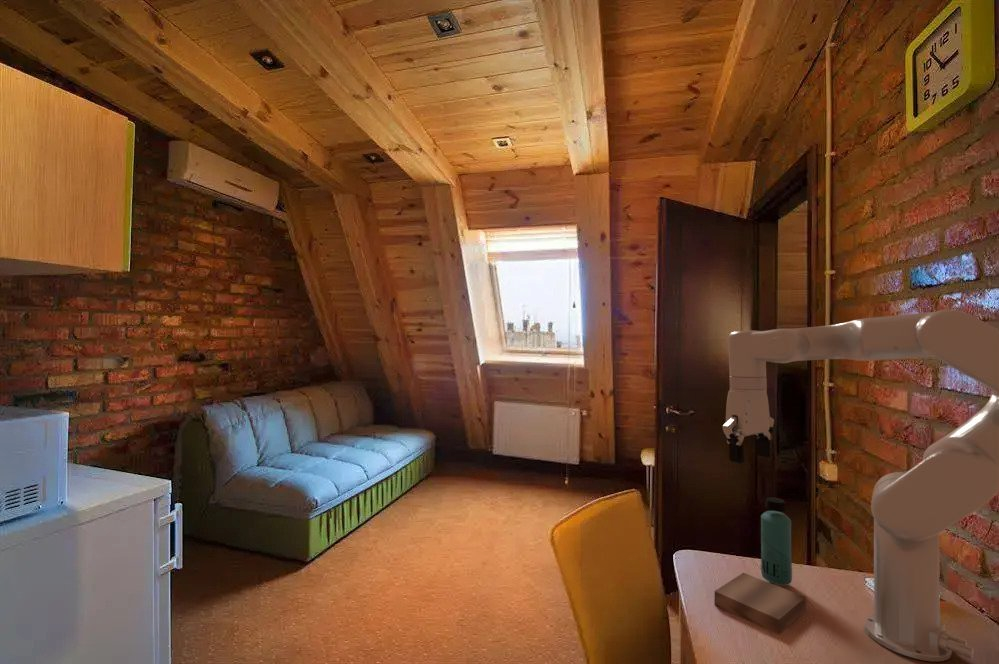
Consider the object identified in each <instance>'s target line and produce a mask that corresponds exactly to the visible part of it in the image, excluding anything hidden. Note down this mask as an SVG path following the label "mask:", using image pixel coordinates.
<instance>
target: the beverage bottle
mask: <svg viewBox="0 0 999 664" xmlns="http://www.w3.org/2000/svg"><path fill="white" fill-rule="evenodd" d="M765 508H766V509H768V510H767V511H764V512H763V513H762V514H761V515H760V535H759V536H760V542H759V543H760V544H761V545H760V546H761V547H760V570H761V571H760V573H761V576H762V578H763V580H765V581H766V582H769V583H771V584H774V585H779V586H780V585H782V586H783V585H784V586H786V585H787V586H788V585H790V584H791V583H792V580H793V564H792V563H793V560H792V559H793V556H792V520H791V518H790V517H789V516H788V515H787V514H785V513H784V512H786V511H787V506H786V501H785V500H784V499H782V498H779V497H766V499H765Z"/></svg>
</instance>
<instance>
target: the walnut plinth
mask: <svg viewBox="0 0 999 664" xmlns="http://www.w3.org/2000/svg"><path fill="white" fill-rule="evenodd" d="M714 606H716V607H718V608H720V609H722V610H724V611H726V612H729V613H731V614H734V615H735V616H737V617H740V618H742V619H744V620H746V621H748V622H750V623H752V624H754V625H757V626H759V627H761V628H763V629H765V630H767V631H770V632H771V633H773V634H776V635H778V636H781V634H782V633H784V631H785V630H787V629H788V628H789V627H790V626H791V625H792V624H793V623H794V622H795V621H797V620H798V619H799V618H800V617H801V616H802V615H803V614H805V613H806V611H807V597H806V596H804V595H801V594H799V593H797V592H794V591H791V590H790V589H786V588H784V587H782V586H780V585H777V584H775V583H772V582H769V581H767V580H765V579H761V578H758V577H756V576H753V575H751V574H747V573H745V572H742V573H740V574H739V575H737V576H736V577H734V578H732V579H731V580H730V581H728V582H727V583H725V584H723V585H722V586H720V587H719V588H717V589H716V590H714Z"/></svg>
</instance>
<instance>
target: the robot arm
mask: <svg viewBox="0 0 999 664" xmlns="http://www.w3.org/2000/svg"><path fill="white" fill-rule="evenodd" d="M727 345H728V368H729V372H728V373H729V390H728V392H727V398H726V404H725V407H726V408H725V423H724V424H723V425H722V428H721V429H722V431H723V433H724V437H725V439H726V442H727V444H728V454H729V455H728V457H729V461H730V462H734V463H737V464H745V454H744V453H745V452H744V451H745V450H744V445H743V444H742V443H743V442H744V438H745V437H748V436H755V435H756V437H755V454H756V456H758V457H764V458H771V456H772V455H771V440H772V434H773V431H774V429H773V427H774V424H775V419H774V418H772V417H771V416H770V405H769V397H768V393H767V392H768V391H767V390H768V387H767V386H768V385H767V384H768V383H767V382H768V381H767V362H770V363H778V364H789V363H792V362H799V361H800V362H801V361H815V360H817V361H818V360H821V361H822V360H852V361H856V362H857V361H858V362H859V361H860V362H864V361H869V362H871V361H890V360H908V359H929V358H930V359H931V358H936V359H938V360H940V361H941V362H943V363H945V364H946V365H948V366H949V367H951V368H953V369H955V370H957V371H958V372H959V373H962V374H963V375H965V376H966V377H969V378H970V379H972V380H974V381H975V382H978V383H979V384H981V385H982V386H984V387H986V388H988V389H989V390H991V391H990V396H989V399H988V401H987V402H986V404H985V405H984V406H983V407H982V408H981V409H980V410H979V411H977V412H976V413H975V414H973V415H972V416H971V417H969V418H968V420H966V421H965V422H964V423H962V424H960V426H958V427H956V428H955V429H953V430H952V431H951V432H949V433H948V434H947V435H945V436H943V437H942V438H940V439H938V440H937V441H935V442H934V443H932V444H931V445H929V446H928V447H927V448H926V449H925V451H924V452H923V455H922V460H921V461H920V462H918V463H917V464H916V465H914V466H913V467H912V468H910V469H909V470H907V471H906V472H904V471H903V472H902V471H897V472H891V473H887V474H885V475H883V476H882V477H880V478H879V479H878V481H877V482H876V483H875V485H874V486H873V491H872V496H871V501H870V511H871V515H872V517H873V583H874V584H873V587H874V588H873V593H874V594H873V596H874V597H873V601H874V603H873V605H874V613H873V614H874V615H870V616H867V617H866V618H865V620H864V630H865V631H866V633H867V634H868V636H870V638H871V639H873V640H874V641H875V642H877V643H878V644H880V645H881V646H883V647H885V648H887V649H889V650H890V651H893V652H895V653H896V654H897V653H898V654H899V655H902V656H905V657H909V658H912V659H916V660H921V661H926V662H935V663H937V662H944V661H947V660H949V659H950V658H951V657H952V654H953V653H952V652H954V653H957V654H958V655H960V656H963V657H965V658H967V659H969V660H973V659H974V647H972V646H970V645H967V644H968V643H967V639H964V638H961V637H958V636H955V635H952V634H950V633H949V632H948V631H946V623H944V622H942V621H941V618H940V617H941V616H940V615H941V608H940V607H941V606H940V604H941V603H940V602H941V601H940V597H941V596H940V565H941V564H940V563H941V562H940V533H942V532H943V531H945V530H946V529H948V528H950V527H952V526H953V525H955V524H956V523H958V522H959V521H962V519H963V520H964V518H967V517H968V516H969V515H971V514H972V513H974V512H976V511H977V510H978V509H980V508H982V507H983V506H985V505H986V504H987V503H989V502H990V501H991V500H992V499H993V498H994V497H995V496H996V494H997V493H998V492H999V329H998V328H996V327H995V326H992V325H991V324H989V323H986V322H985V321H983V320H982V319H980V318H978V317H975V316H974V315H972V314H970V313H968V312H966V311H964V310H963V311H962V310H958V309H942V310H936V311H928V312H920V313H909V314H908V313H907V314H900V315H890V316H876V317H865V318H858V319H854V320H850V321H846V322H842V323H841V322H840V323H836V324H830V325H819V326H810V327H809V326H808V327H798V328H776V329H775V328H774V329H769V330H768V329H767V330H761V331H760V330H735V331H732V332H730V333H729V335H728V343H727ZM737 436H738V437H737Z"/></svg>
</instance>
